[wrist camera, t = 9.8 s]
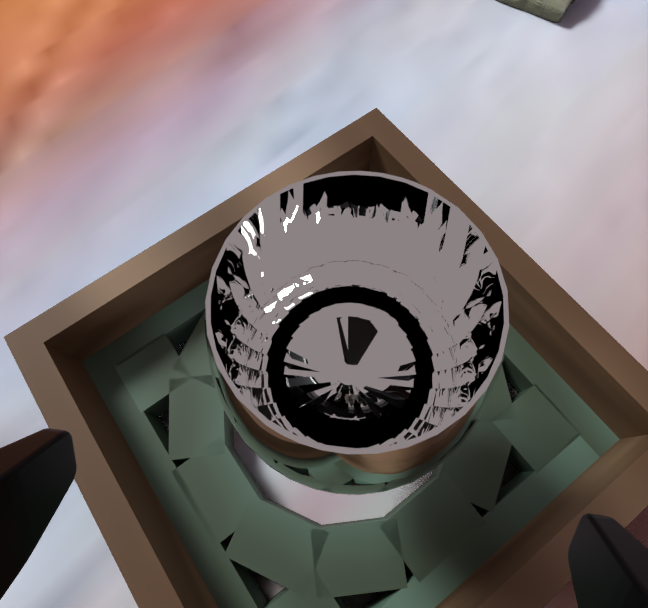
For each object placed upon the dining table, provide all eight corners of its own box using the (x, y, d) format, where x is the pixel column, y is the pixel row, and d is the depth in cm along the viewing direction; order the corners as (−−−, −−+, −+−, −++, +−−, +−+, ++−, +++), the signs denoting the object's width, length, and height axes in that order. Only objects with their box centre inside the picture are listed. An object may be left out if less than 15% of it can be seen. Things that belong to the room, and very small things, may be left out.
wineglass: (243, 430, 18) (88, 345, 7) (326, 315, 20) (309, 95, 9) (368, 522, 17) (426, 601, 6) (446, 391, 18) (610, 248, 7)
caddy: (288, 771, 14) (270, 871, 11) (68, 365, 19) (3, 337, 16) (636, 448, 17) (717, 438, 14) (370, 170, 22) (376, 107, 19)
